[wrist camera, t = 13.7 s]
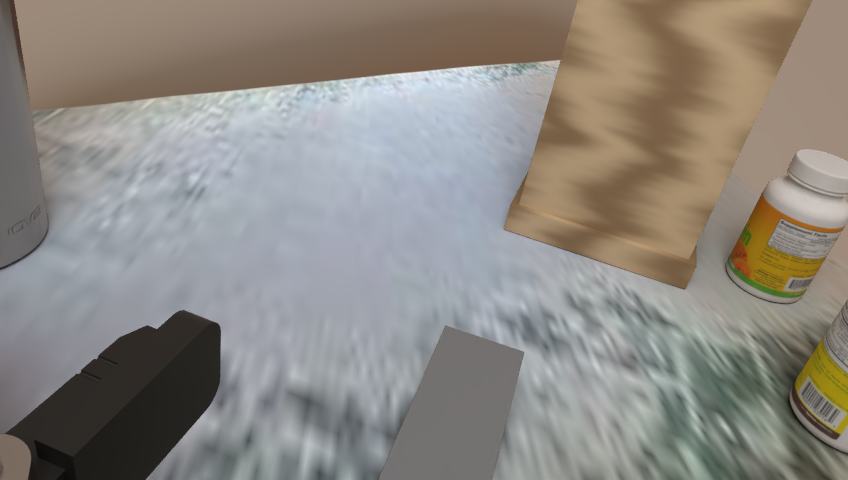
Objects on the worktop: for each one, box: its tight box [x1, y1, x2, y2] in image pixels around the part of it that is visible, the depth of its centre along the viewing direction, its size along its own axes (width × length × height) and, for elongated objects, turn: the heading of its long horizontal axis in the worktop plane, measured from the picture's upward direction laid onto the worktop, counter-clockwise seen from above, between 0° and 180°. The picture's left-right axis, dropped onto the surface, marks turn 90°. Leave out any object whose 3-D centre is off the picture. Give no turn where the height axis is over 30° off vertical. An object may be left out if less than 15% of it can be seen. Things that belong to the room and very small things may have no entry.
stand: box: [504, 0, 812, 289], centre depth 44 cm, size 13×13×32 cm
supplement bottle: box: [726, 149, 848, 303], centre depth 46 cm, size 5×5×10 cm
